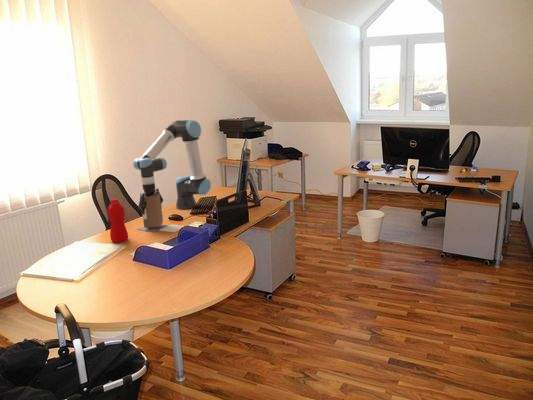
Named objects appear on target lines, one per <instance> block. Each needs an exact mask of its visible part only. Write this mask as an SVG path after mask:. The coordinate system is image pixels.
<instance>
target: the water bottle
mask: <svg viewBox="0 0 533 400" xmlns="http://www.w3.org/2000/svg"><path fill="white" fill-rule="evenodd" d="M109 203H110V204H109V206H108V207H107V209H106V210H107V211H106V213H107V216H108V219H109V223H110V233H109V234H110V235H109V238H110V241H111V242H112V243H116V244H117V243H122V242H125V241H127V240H128V239H129V233H128V231H127V227H126V224H125V216H126V215H125V213H126V214H127V216H129V215H128V212H127V209H126V208H125V207H124V206H123V204H121V202H120V201H119V199H117V198H112V199H110V201H109ZM128 218H129V217H127V218H126V220H128Z"/></svg>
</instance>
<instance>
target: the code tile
mask: <svg viewBox="0 0 533 400" xmlns="http://www.w3.org/2000/svg"><path fill="white" fill-rule="evenodd" d="M167 226H169V224H168V225H167V224H161V225H160V227H151V228H145V227H144V226H143V227H140V228H137V231H143V232H149V233H150V232H151V233H155V232H158V231H160V229H162V228H165V227H167Z"/></svg>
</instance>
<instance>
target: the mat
mask: <svg viewBox="0 0 533 400" xmlns="http://www.w3.org/2000/svg"><path fill="white" fill-rule="evenodd" d="M168 225H169V224H168ZM184 226H185V225H179V224H178V225H177V224H170V225H169V226H167V227H165V228H162V229H160V230H159V232H160V231H161V232H167V233H168V232H169V233H176V232H179V231H181V230H182V229H181V228H182V227H184ZM180 229H181V230H180Z"/></svg>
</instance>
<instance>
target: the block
mask: <svg viewBox="0 0 533 400" xmlns="http://www.w3.org/2000/svg"><path fill="white" fill-rule="evenodd" d="M159 193H160V192H159ZM159 193H155V195H151V196H149V197H148V196H145V198H144V202H145V201H146V203H147V204H146V207H145V209H146V214H147V219H143V218H142V220H143V227H145V228H151V227H160V225H163V223H164V217H163V211H162V208H161V206H162V203H161V201H160V195H161V193H160V194H159Z"/></svg>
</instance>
